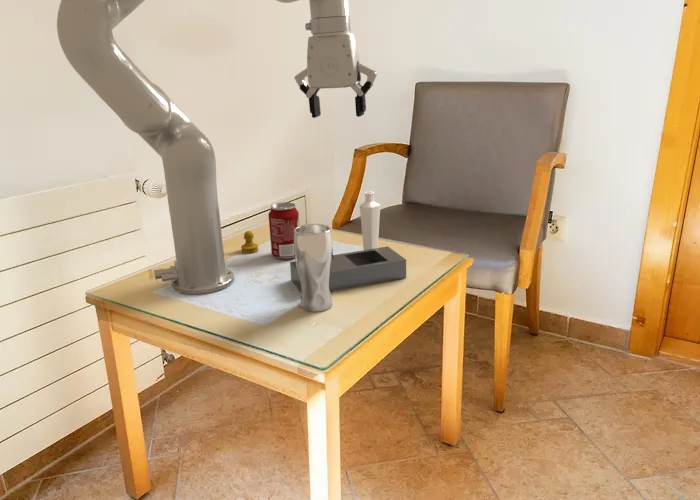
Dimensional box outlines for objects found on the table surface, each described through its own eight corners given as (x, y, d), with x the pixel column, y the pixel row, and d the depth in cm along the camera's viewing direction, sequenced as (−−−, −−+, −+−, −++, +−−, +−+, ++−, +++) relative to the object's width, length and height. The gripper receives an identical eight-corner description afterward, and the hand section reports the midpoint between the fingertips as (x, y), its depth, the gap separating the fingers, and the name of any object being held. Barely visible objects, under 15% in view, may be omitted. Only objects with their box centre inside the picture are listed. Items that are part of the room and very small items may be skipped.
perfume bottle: (356, 255, 136) (354, 191, 131) (373, 252, 137) (372, 189, 132) (365, 261, 132) (364, 196, 127) (383, 258, 133) (382, 193, 128)
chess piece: (244, 255, 138) (242, 234, 137) (239, 250, 142) (237, 230, 140) (260, 252, 140) (259, 231, 138) (255, 247, 143) (253, 227, 142)
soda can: (299, 260, 134) (296, 209, 130) (269, 261, 134) (265, 210, 130) (302, 250, 140) (299, 201, 136) (274, 251, 140) (270, 201, 136)
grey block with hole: (303, 296, 115) (302, 277, 114) (291, 280, 123) (289, 262, 122) (406, 277, 122) (406, 259, 121) (387, 263, 130) (387, 246, 129)
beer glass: (315, 294, 116) (311, 220, 111) (342, 303, 112) (339, 227, 107) (290, 307, 111) (284, 230, 106) (317, 316, 107) (313, 237, 102)
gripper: (282, 31, 116) (292, 120, 122) (367, 24, 110) (372, 118, 116) (298, 30, 122) (306, 114, 128) (378, 23, 117) (383, 112, 123)
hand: (338, 116), depth 122 cm, fingers open, 9 cm apart
